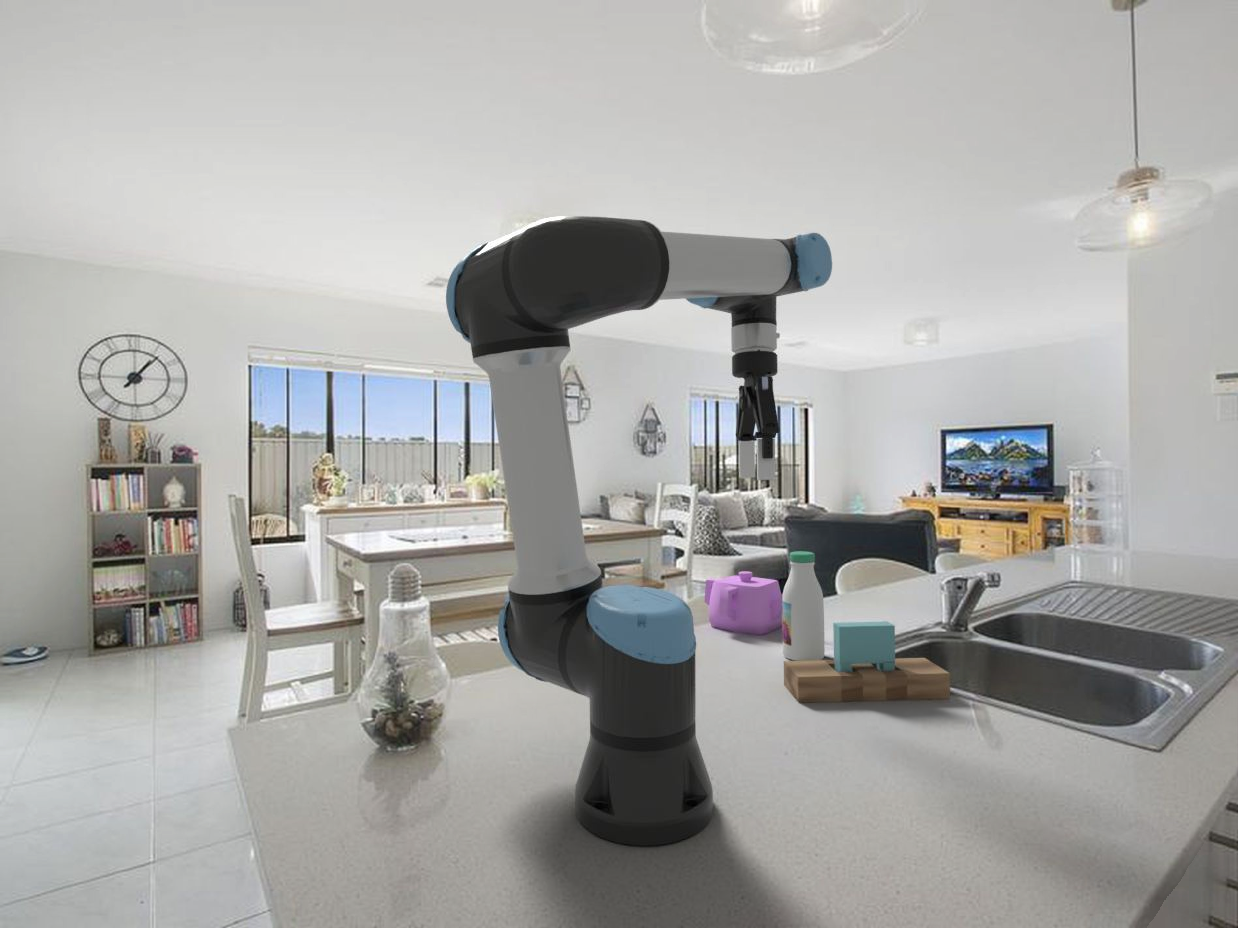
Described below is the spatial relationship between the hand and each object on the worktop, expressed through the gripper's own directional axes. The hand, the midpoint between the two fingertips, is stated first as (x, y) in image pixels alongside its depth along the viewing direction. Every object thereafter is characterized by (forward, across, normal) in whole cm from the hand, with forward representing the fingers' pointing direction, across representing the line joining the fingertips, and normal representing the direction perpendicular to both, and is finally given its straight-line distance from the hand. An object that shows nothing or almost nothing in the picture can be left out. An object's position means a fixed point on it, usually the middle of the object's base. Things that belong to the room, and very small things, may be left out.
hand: (756, 478), depth 110 cm
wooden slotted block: (+35, -5, -16) cm, 39 cm away
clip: (+35, -5, -16) cm, 39 cm away
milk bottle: (+35, +14, -12) cm, 39 cm away
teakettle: (+35, +38, -7) cm, 52 cm away
